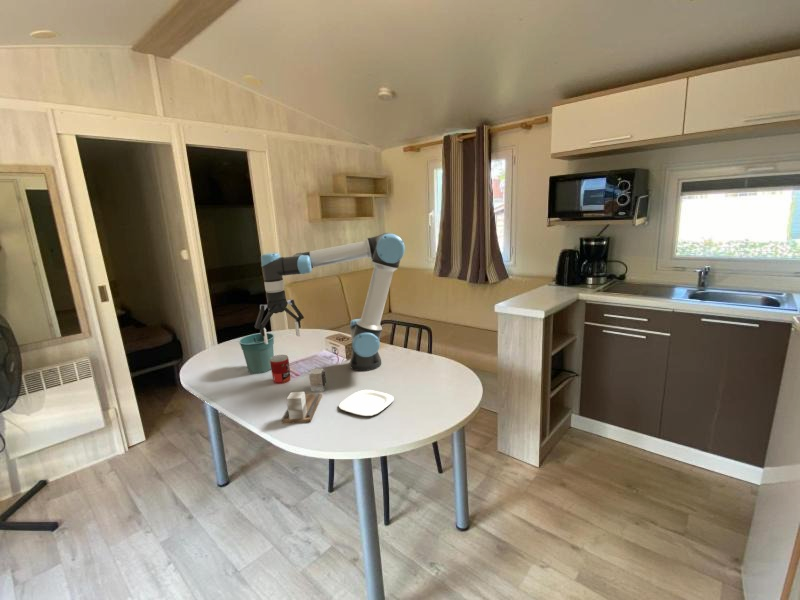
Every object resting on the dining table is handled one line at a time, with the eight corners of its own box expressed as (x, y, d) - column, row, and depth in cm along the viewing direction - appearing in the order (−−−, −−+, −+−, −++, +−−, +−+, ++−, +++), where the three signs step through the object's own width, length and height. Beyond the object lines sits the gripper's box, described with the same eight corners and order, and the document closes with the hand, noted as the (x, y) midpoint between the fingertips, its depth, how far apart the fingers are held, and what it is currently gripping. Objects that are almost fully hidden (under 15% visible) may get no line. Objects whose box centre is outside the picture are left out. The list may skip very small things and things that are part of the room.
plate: (372, 422, 132) (371, 417, 131) (333, 410, 141) (332, 406, 141) (399, 400, 147) (399, 396, 146) (362, 391, 156) (362, 387, 156)
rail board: (322, 396, 153) (319, 375, 151) (310, 422, 133) (307, 398, 131) (297, 397, 153) (295, 376, 151) (282, 423, 134) (279, 399, 132)
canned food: (286, 384, 166) (282, 360, 164) (269, 383, 168) (266, 360, 166) (294, 377, 174) (291, 354, 171) (278, 376, 175) (275, 354, 173)
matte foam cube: (311, 391, 157) (309, 374, 156) (314, 386, 162) (311, 369, 161) (324, 391, 157) (322, 373, 156) (326, 385, 162) (325, 368, 160)
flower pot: (264, 377, 175) (259, 344, 172) (236, 374, 181) (230, 342, 177) (285, 363, 191) (281, 333, 187) (258, 361, 196) (254, 332, 193)
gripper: (301, 284, 166) (307, 330, 170) (241, 294, 152) (250, 344, 157) (307, 286, 160) (313, 334, 164) (245, 297, 146) (254, 349, 151)
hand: (282, 339), depth 160 cm, fingers open, 13 cm apart
